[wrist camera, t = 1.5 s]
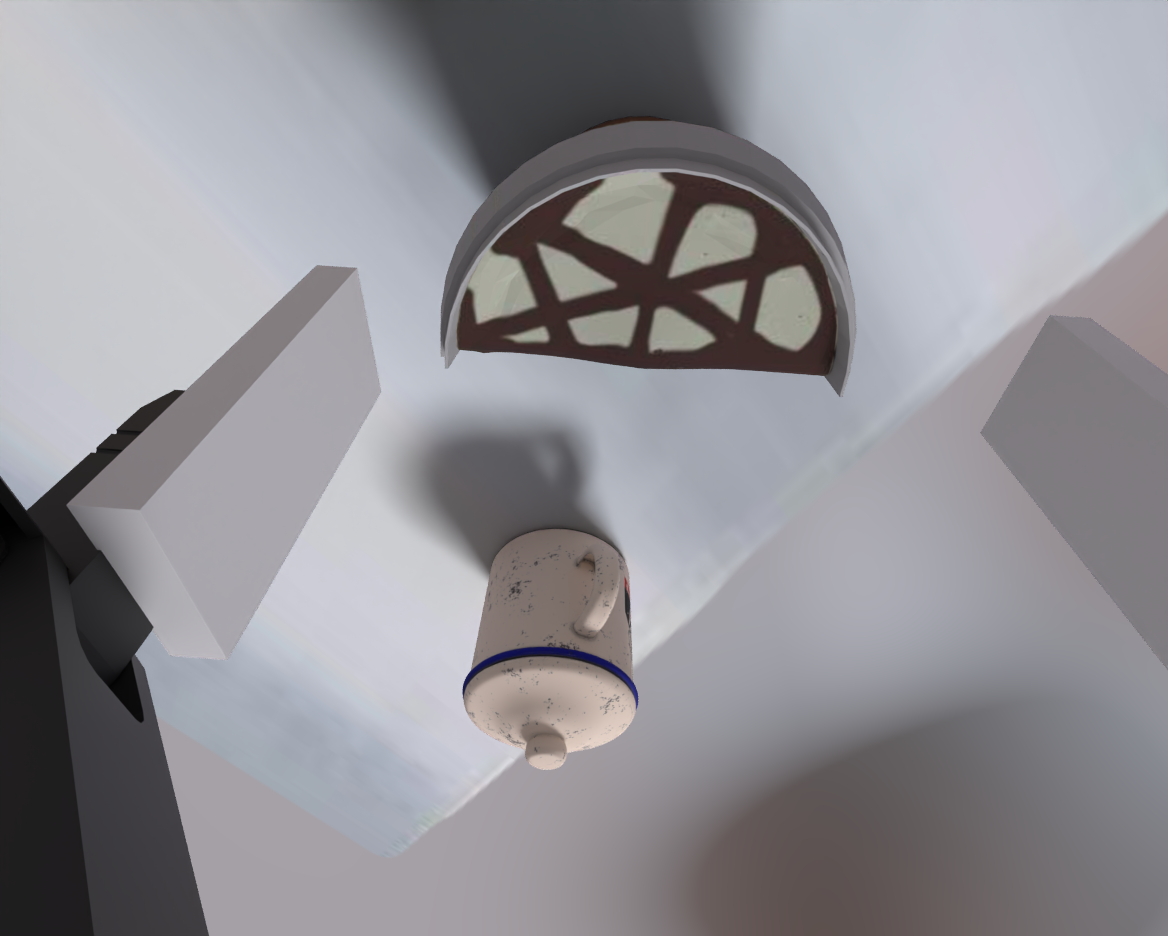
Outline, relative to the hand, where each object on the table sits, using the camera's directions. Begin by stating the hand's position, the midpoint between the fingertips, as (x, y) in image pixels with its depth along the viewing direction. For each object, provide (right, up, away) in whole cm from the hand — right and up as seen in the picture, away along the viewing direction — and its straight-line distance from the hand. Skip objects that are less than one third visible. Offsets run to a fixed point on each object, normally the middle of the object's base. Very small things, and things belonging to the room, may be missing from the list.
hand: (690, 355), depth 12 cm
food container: (0, +9, +11) cm, 14 cm away
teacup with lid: (-3, -8, +25) cm, 26 cm away
